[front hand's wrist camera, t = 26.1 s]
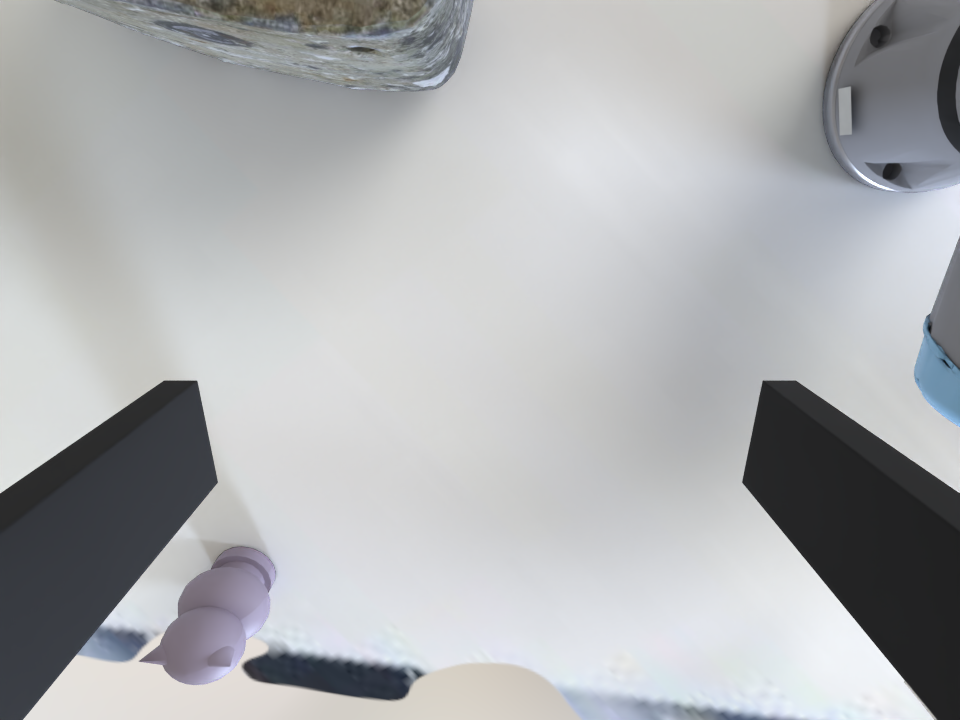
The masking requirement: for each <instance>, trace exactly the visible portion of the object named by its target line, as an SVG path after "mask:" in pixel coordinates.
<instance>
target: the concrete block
mask: <svg viewBox="0 0 960 720" xmlns="http://www.w3.org/2000/svg"><path fill="white" fill-rule="evenodd" d="M55 1H58V2H60V3H64V4H68V5H71V6H73V7H76V8H79V9H81V10H84V11H86V12H89V13H92V14H94V15H97V16H99V17H102V18H105V19H107V20H110V21H112V22H114V23H117V24H119V25H122V26H124V27H127V28H129V29H132V30H135V31H138V32H141V33H142V34H145V35H149V36H152V37H154V38H157V39H160V40H163V41H166V42H169V43H172V44H175V45H178V46H180V47H184V48H187V49H190V50H193V51H196V52H199V53H202V54H205V55H208V56H211V57H214V58H217V59H220V60H222V61H223V62H229V63H232V64H237V65H243V66H247V67H253V68H258V69H262V70H267V71H272V72H277V73H281V74H286V75H290V76H295V77H300V78H305V79H310V80H315V81H320V82H325V83H330V84H334V85H338V86H343V87H347V88H351V89H361V90H364V89H368V90H381V91H424V90H433V89H436V88H439V87H440V86H442V85H443V84H444V83H446V82H447V81H448V79H449V78H450V77H451V76H452V75H453V74H454V72H455V70H456V68H457V65H458V63H459V60H460V57H461V54H462V50H463V47H464V42H465V38H466V33H467V29H468V24H469V20H470V15H471V11H472V6H473V0H55Z"/></svg>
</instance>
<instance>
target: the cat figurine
mask: <svg viewBox="0 0 960 720" xmlns="http://www.w3.org/2000/svg"><path fill="white" fill-rule="evenodd" d="M275 574H276V571H275V568H274V565H273V563H272V562H271V561H270V560H269V558H268V557H267V556H265V555H264V554H263V553H261V552H260V551H257V550H255V549H252V548H247V547H234V548H231V549H228V550H226V551H224V552H223V553H222V554H221V555H220V556H219V557H218V558H217V560H216V561H215V563H214V564H213V566H212V568H211V570H209V571H206V572H204V573H201V574H200V575H198V576H197V577H196V578H194V579H193V580H192V581H191V582H189V583H188V584H187V586H186V587H185V589H184V591H183V593H182V595H181V596H180V598H179V602H178V618H177V619H176V620H175V621H174V622H172V623H171V624H170V626H169V627H168V628H167V630H166V632H165V634H164V636H163V638H162V640H161V643H160V645H159V646H158V647H157V648H155V649H154V650H153V651H151V652H150V653H149V654H148V655H146V656H145V657H144V658H142V659H141V660H140V661H139V662H146V663H153V664H160V665H163V667H164V669H165V671H166V672H167V673H168V674H169V675H170V676H171V677H172V678H174V679H175V680H177V681H179V682H182V683H185V684H191V685H201V684H207V683H211V682H214V681H216V680H219V679H221V678H222V677H223V676H225V675H226V674H228V673H229V672H230V671H231V670H233V669H234V668H235V666H236V665H237V663H238V662H239V660H240V659H241V657H242V655H243V653H244V650H245V645H246V640H247V639H249V638H250V637H251V636H253V635H254V634H255V633H257V632H258V631H259V630H260V629H261V627H262V626H263V624H264V622H265V621H266V619H267V617H268V615H269V610H270V597H269V594H268V592H269V590H270V588H271V586H272V584H273V582H274V580H275Z"/></svg>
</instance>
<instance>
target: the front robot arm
mask: <svg viewBox="0 0 960 720" xmlns="http://www.w3.org/2000/svg"><path fill="white" fill-rule="evenodd" d="M823 121H824V128H825V134H826V137H827V141H828V144H829V146H830V148H831V151H832V153H833V154H834V156H835V158H836V160H837V161H838V162H839V164H840V165H841V166H842V168H843V169H844V170H845V171H846V172H847V173H848V174H850V175H851V176H852V177H853V178H855V179H856V180H858V181H859V182H861V183H863V184H865V185H867V186H870V187H873V188H876V189H880V190H885V191H894V192H925V191H931V190H937V189H942V188H947V187H950V186H953V185H956V184H959V183H960V0H876V1H874V2H873V3H872V4H871V5H870V6H869V7H868V8H867V9H866V10H865V12H864V13H863V14H862V15H861V16H860V17H859V18H858V20H857V21H856V22H855V23H854V25H853V26H852V27H851V29H850V30H849V32H848V33H847V35H846V36H845V38H844V40H843V42H842V43H841V45H840V47H839V49H838V51H837V53H836V55H835V58H834V60H833V63H832V65H831V68H830V71H829V74H828V78H827V81H826V86H825V91H824V100H823ZM923 332H924V338H923V341H922V345H921V348H920V351H919V355H918V358H917V361H916V365H915V369H914V376H915V382H916V383H917V385H918V387H919V389H920V390H921V392H922V395H923V397H924V398H925V399H926V400H927V402H928V403H929V404H930V405H931V406H932V407H933V408H934V409H936V410H937V411H938V412H939V413H940V414H942V415H943V416H944V417H946V418H947V419H948V420H950V421H951V422H953V423H954V424H956V425H957V426H959V427H960V237H959V240H958V243H957V245H956V248H955V250H954V253H953V256H952V258H951V261H950V264H949V266H948V269H947V272H946V274H945V277H944V280H943V282H942V285H941V288H940V290H939V293H938V296H937V298H936V301H935V304H934V306H933V309H932V312H931V313H930V314H929V315H928V316H927V317H926V319H925V321H924V324H923ZM217 483H218V481H217V476H216V471H215V466H214V461H213V456H212V451H211V446H210V441H209V437H208V432H207V427H206V422H205V417H204V412H203V407H202V402H201V397H200V392H199V387H198V382H197V381H163V382H162V383H160V384H159V385H157V386H156V387H154V388H153V389H151V390H150V391H148V392H147V393H146V394H144V395H143V396H141V397H140V398H138V399H137V400H135V401H134V402H132V403H131V404H130V405H128V406H127V407H125V408H124V409H122V410H121V411H119V412H118V413H117V414H115V415H114V416H112V417H111V418H109V419H108V420H106V421H105V422H103V423H102V424H101V425H99V426H98V427H96V428H95V429H93V430H92V431H90V432H89V433H87V434H86V435H85V436H83V437H82V438H80V439H79V440H77V441H76V442H74V443H73V444H71V445H70V446H69V447H67V448H66V449H64V450H63V451H61V452H60V453H58V454H57V455H56V456H54V457H53V458H51V459H50V460H48V461H47V462H45V463H44V464H42V465H41V466H40V467H38V468H37V469H35V470H34V471H32V472H31V473H29V474H28V475H26V476H25V477H24V478H22V479H21V480H19V481H18V482H16V483H15V484H13V485H12V486H10V487H9V488H8V489H6V490H5V491H3V492H2V493H0V720H23V719H24V718H25V716H26V715H27V714H28V713H29V712H30V710H31V709H32V708H33V707H34V705H35V704H36V703H37V702H38V701H39V699H40V698H41V697H42V696H43V695H44V693H45V692H46V691H47V690H48V688H49V687H50V686H51V685H52V684H53V682H54V681H55V680H56V679H57V677H58V676H59V675H60V674H61V673H62V671H63V670H64V669H65V668H66V667H67V665H68V664H69V663H70V662H71V660H72V659H73V658H74V657H75V656H76V654H77V653H78V652H79V651H80V650H81V648H82V647H83V646H84V645H85V643H86V642H87V641H88V640H89V639H90V637H91V636H92V635H93V634H94V632H95V631H96V630H97V629H98V628H99V626H100V625H101V624H102V623H103V622H104V620H105V619H106V618H107V617H108V615H109V614H110V613H111V612H112V611H113V609H114V608H115V607H116V606H117V604H118V603H119V602H120V601H121V600H122V598H123V597H124V596H125V595H126V594H127V592H128V591H129V590H130V589H131V587H132V586H133V585H134V584H135V583H136V581H137V580H138V579H139V578H140V576H141V575H142V574H143V573H144V572H145V570H146V569H147V568H148V567H149V566H150V564H151V563H152V562H153V561H154V559H155V558H156V557H157V556H158V555H159V553H160V552H161V551H162V550H163V548H164V547H165V546H166V545H167V544H168V542H169V541H170V540H171V539H172V538H173V536H174V535H175V534H176V533H177V531H178V530H179V529H180V528H181V527H182V525H183V524H184V523H185V522H186V520H187V519H188V518H189V517H190V516H191V514H192V513H193V512H194V511H195V510H196V508H197V507H198V506H199V505H200V503H201V502H202V501H203V500H204V499H205V497H206V496H207V495H208V494H209V492H210V491H211V490H212V489H213V488H214V486H215V485H216V484H217ZM742 483H743V484H744V485H745V486H746V488H747V489H748V490H749V491H750V492H751V494H752V495H753V496H754V497H755V499H756V500H757V501H758V502H759V503H760V505H761V506H762V507H763V508H764V510H765V511H766V512H767V513H768V514H769V516H770V517H771V518H772V519H773V520H774V522H775V523H776V524H777V525H778V527H779V528H780V529H781V530H782V531H783V533H784V534H785V535H786V536H787V538H788V539H789V540H790V541H791V542H792V544H793V545H794V546H795V547H796V548H797V550H798V551H799V552H800V553H801V555H802V556H803V557H804V558H805V559H806V561H807V562H808V563H809V564H810V566H811V567H812V568H813V569H814V570H815V572H816V573H817V574H818V575H819V576H820V578H821V579H822V580H823V581H824V583H825V584H826V585H827V586H828V587H829V589H830V590H831V591H832V592H833V594H834V595H835V596H836V597H837V598H838V600H839V601H840V602H841V603H842V604H843V606H844V607H845V608H846V609H847V611H848V612H849V613H850V614H851V615H852V617H853V618H854V619H855V620H856V622H857V623H858V624H859V625H860V626H861V628H862V629H863V630H864V631H865V632H866V634H867V635H868V636H869V637H870V639H871V640H872V641H873V642H874V643H875V645H876V646H877V647H878V648H879V650H880V651H881V652H882V653H883V654H884V656H885V657H886V658H887V659H888V660H889V662H890V663H891V664H892V665H893V667H894V668H895V669H896V670H897V671H898V673H899V674H900V675H901V676H902V678H903V679H904V680H905V681H906V682H907V684H908V685H909V686H910V687H911V688H912V690H913V691H914V692H915V693H916V695H917V696H918V697H919V698H920V699H921V701H922V702H923V703H924V704H925V706H926V707H927V708H928V709H929V710H930V712H931V713H932V714H933V715H934V716H935V718H936V719H937V720H960V493H958V492H957V491H955V490H954V489H952V488H951V487H950V486H948V485H947V484H945V483H944V482H942V481H941V480H939V479H938V478H936V477H935V476H934V475H932V474H931V473H929V472H928V471H926V470H925V469H923V468H922V467H920V466H919V465H918V464H916V463H915V462H913V461H912V460H910V459H909V458H907V457H906V456H904V455H903V454H902V453H900V452H899V451H897V450H896V449H894V448H893V447H891V446H890V445H889V444H887V443H886V442H884V441H883V440H881V439H880V438H878V437H877V436H875V435H874V434H873V433H871V432H870V431H868V430H867V429H865V428H864V427H862V426H861V425H859V424H858V423H857V422H855V421H854V420H852V419H851V418H849V417H848V416H846V415H845V414H843V413H842V412H841V411H839V410H838V409H836V408H835V407H833V406H832V405H830V404H829V403H828V402H826V401H825V400H823V399H822V398H820V397H819V396H817V395H816V394H814V393H813V392H812V391H810V390H809V389H807V388H806V387H804V386H803V385H801V384H800V383H798V382H797V381H763V382H762V387H761V392H760V397H759V402H758V407H757V412H756V417H755V422H754V427H753V432H752V437H751V441H750V446H749V451H748V456H747V461H746V466H745V471H744V476H743V481H742Z"/></svg>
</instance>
